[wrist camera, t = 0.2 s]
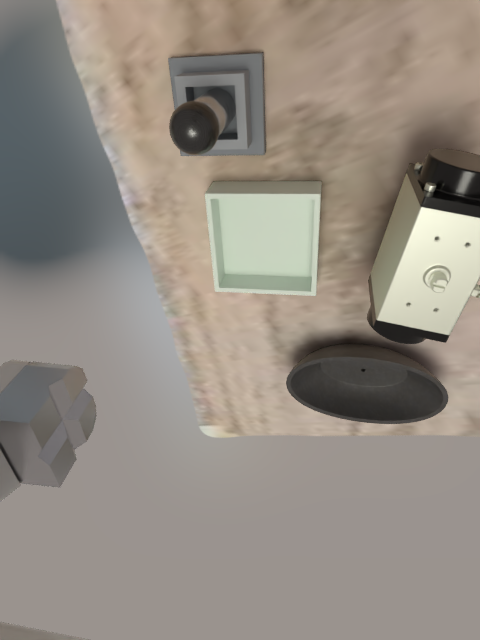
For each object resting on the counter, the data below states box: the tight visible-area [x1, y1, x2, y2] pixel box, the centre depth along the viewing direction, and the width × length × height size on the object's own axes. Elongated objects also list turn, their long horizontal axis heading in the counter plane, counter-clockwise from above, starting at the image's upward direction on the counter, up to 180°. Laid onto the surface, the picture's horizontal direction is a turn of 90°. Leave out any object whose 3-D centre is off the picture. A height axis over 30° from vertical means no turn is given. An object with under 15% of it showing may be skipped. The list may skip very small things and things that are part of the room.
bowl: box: [286, 344, 448, 424], centre depth 64 cm, size 12×22×6 cm, turn 89°
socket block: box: [168, 53, 266, 156], centre depth 48 cm, size 10×10×4 cm
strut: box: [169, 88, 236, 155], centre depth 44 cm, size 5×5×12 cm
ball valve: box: [367, 149, 480, 344], centre depth 45 cm, size 18×8×18 cm, turn 172°
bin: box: [205, 181, 322, 296], centre depth 56 cm, size 13×13×4 cm
